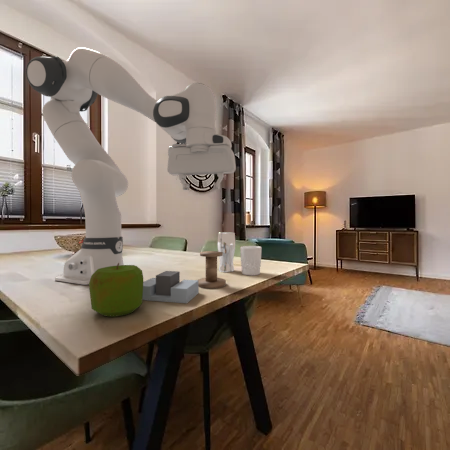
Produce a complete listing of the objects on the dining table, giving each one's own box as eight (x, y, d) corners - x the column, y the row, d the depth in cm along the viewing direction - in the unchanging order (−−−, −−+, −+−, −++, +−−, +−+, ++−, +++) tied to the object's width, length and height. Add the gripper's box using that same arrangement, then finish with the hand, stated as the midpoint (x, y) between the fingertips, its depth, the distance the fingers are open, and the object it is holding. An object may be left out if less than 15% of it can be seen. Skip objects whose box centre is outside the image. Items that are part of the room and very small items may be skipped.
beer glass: (224, 268, 108) (224, 232, 107) (238, 270, 104) (238, 232, 103) (213, 271, 102) (213, 232, 102) (228, 273, 98) (228, 233, 98)
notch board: (135, 299, 67) (134, 285, 66) (152, 289, 75) (152, 277, 75) (186, 303, 64) (186, 288, 63) (198, 292, 72) (198, 280, 72)
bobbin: (192, 287, 78) (192, 254, 78) (201, 280, 87) (201, 250, 86) (222, 289, 76) (222, 255, 76) (228, 281, 85) (228, 251, 85)
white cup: (260, 276, 93) (260, 248, 93) (238, 275, 95) (238, 247, 94) (262, 271, 101) (262, 246, 101) (241, 271, 102) (241, 245, 102)
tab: (155, 294, 67) (155, 275, 67) (166, 288, 73) (166, 270, 73) (170, 295, 66) (170, 276, 66) (179, 289, 72) (179, 271, 72)
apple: (133, 300, 66) (132, 257, 66) (152, 312, 58) (152, 262, 57) (84, 310, 58) (83, 262, 58) (98, 325, 50) (97, 269, 50)
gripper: (163, 141, 76) (163, 189, 76) (232, 136, 72) (232, 187, 72) (172, 147, 82) (172, 191, 82) (236, 143, 78) (236, 189, 78)
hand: (201, 189), depth 77 cm, fingers open, 8 cm apart
